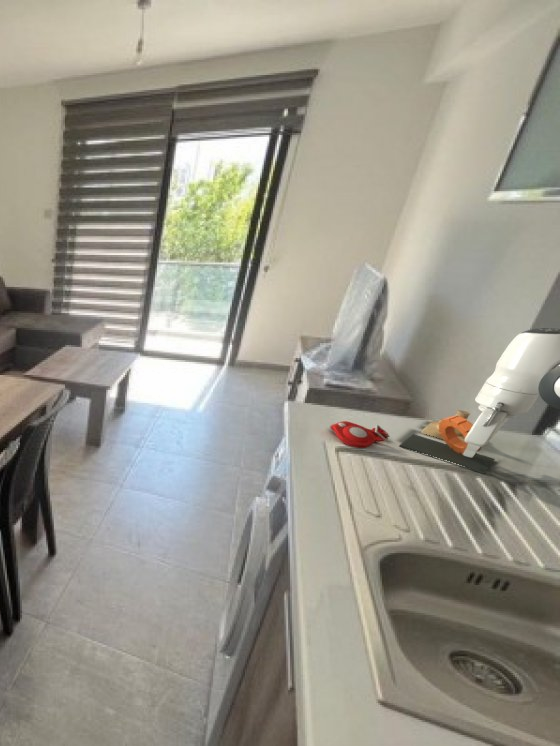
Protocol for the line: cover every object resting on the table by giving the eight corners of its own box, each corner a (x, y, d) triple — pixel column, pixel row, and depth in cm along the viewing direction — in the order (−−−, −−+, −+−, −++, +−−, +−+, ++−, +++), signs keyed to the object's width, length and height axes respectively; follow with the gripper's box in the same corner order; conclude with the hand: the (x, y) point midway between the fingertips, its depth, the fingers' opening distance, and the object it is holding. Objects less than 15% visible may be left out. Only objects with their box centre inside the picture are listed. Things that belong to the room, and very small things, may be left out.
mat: (494, 460, 117) (495, 458, 117) (484, 474, 110) (485, 472, 110) (412, 435, 128) (413, 433, 128) (398, 446, 121) (399, 445, 121)
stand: (478, 438, 128) (493, 414, 125) (470, 448, 123) (486, 423, 119) (431, 424, 135) (444, 401, 132) (421, 433, 129) (434, 409, 126)
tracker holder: (362, 447, 117) (326, 422, 124) (352, 459, 120) (318, 434, 127) (398, 432, 120) (361, 408, 126) (388, 444, 123) (353, 420, 129)
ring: (463, 461, 118) (472, 457, 118) (479, 443, 111) (489, 440, 110) (433, 430, 124) (442, 427, 123) (447, 412, 116) (456, 408, 116)
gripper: (516, 413, 101) (479, 469, 108) (531, 395, 112) (497, 447, 119) (476, 403, 105) (443, 458, 112) (494, 386, 116) (463, 437, 123)
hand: (471, 452), depth 115 cm, fingers open, 5 cm apart
